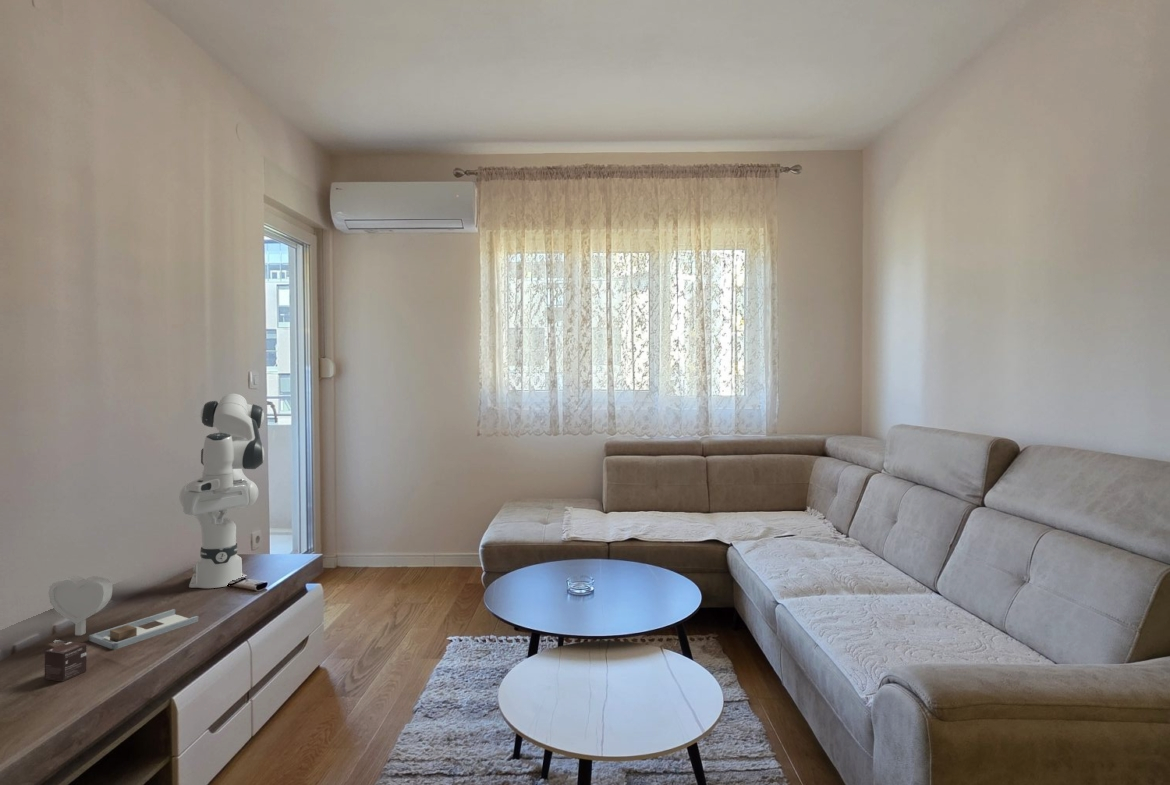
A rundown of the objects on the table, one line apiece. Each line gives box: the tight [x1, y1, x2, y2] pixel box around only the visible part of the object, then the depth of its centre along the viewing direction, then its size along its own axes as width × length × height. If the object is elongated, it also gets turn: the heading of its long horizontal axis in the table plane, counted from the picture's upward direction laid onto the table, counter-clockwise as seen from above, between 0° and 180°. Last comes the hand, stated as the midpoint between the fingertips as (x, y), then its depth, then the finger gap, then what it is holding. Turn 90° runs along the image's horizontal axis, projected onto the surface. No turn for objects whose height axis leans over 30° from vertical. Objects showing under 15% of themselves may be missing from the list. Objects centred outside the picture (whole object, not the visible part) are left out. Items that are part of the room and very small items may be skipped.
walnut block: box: [109, 625, 137, 642], centre depth 171 cm, size 4×4×4 cm
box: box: [44, 641, 87, 682], centre depth 154 cm, size 6×6×7 cm
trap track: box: [88, 608, 199, 651], centre depth 178 cm, size 23×13×3 cm, turn 154°
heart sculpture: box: [47, 575, 114, 644], centre depth 175 cm, size 16×5×18 cm, turn 93°
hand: (217, 523), depth 198 cm, fingers closed
